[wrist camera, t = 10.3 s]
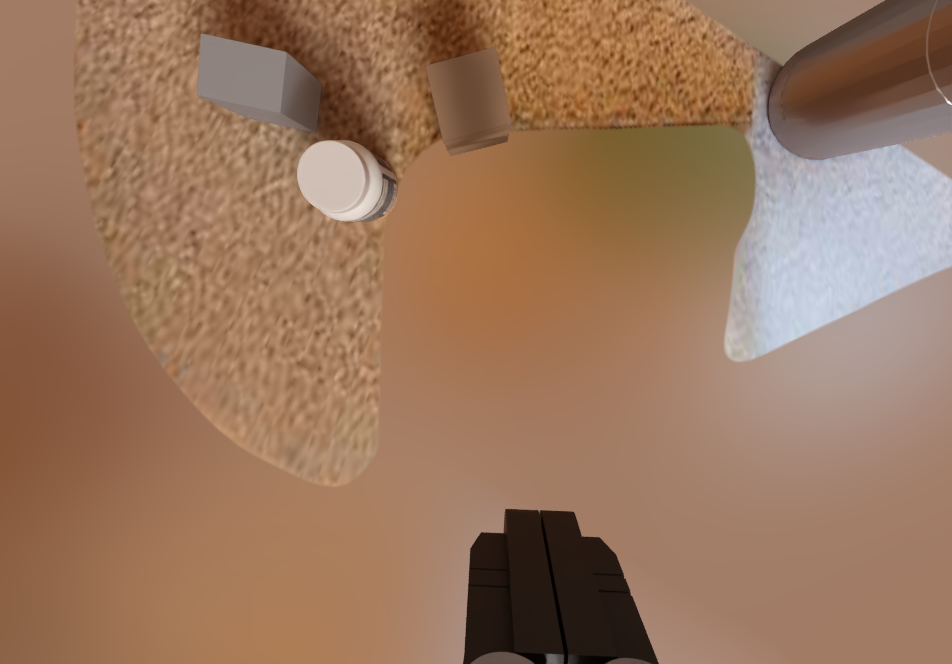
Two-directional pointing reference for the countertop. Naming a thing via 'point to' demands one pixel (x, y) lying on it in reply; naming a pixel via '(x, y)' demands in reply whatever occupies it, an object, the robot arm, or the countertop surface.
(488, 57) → the walnut block
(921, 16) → the robot arm
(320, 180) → the pill bottle
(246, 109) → the slate block
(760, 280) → the countertop surface
